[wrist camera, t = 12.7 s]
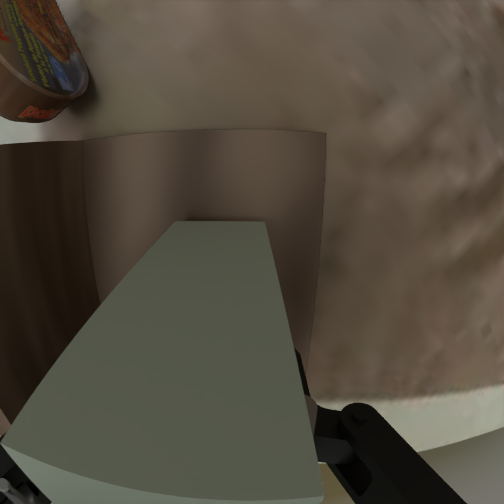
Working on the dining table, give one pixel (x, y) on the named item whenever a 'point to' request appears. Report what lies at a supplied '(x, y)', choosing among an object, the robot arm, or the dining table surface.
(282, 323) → the sage green tall block
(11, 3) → the tin
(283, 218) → the bookshelf
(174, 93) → the dining table surface
